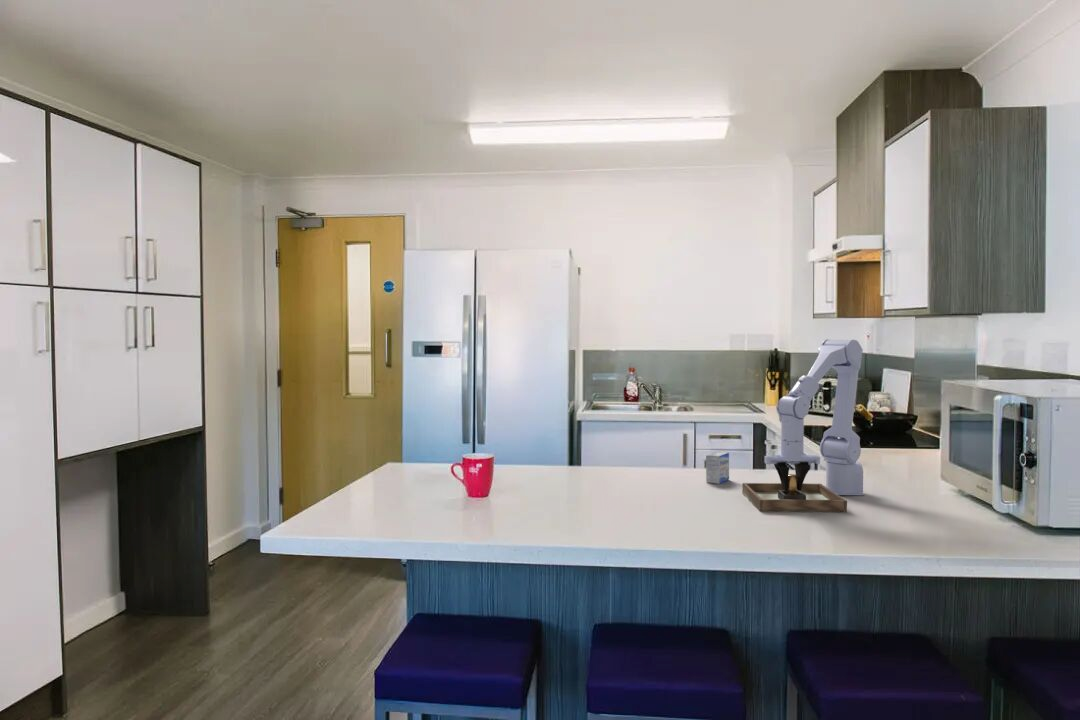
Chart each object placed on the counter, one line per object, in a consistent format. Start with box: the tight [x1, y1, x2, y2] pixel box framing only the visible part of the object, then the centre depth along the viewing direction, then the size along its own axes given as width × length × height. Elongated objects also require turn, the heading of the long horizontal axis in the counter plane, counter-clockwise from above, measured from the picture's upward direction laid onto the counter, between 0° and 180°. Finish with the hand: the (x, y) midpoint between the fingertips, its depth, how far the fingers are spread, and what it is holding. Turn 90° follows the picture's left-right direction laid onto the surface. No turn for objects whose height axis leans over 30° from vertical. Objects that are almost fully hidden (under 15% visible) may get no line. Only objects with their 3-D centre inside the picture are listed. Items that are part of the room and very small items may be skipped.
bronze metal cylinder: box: [785, 473, 798, 495], centre depth 189 cm, size 3×3×6 cm
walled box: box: [741, 482, 848, 513], centre depth 189 cm, size 22×20×3 cm
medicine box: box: [705, 451, 730, 485], centre depth 216 cm, size 8×4×9 cm, turn 143°
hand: (791, 489), depth 189 cm, fingers closed on bronze metal cylinder, 3 cm apart
